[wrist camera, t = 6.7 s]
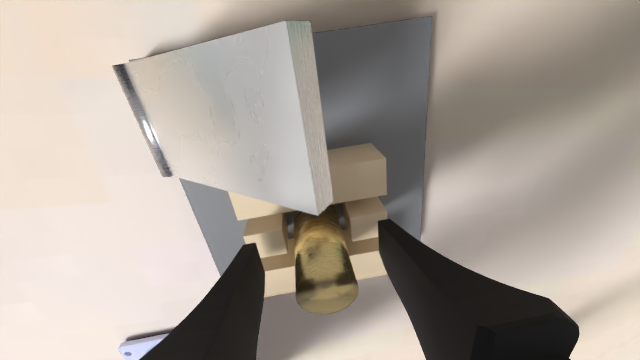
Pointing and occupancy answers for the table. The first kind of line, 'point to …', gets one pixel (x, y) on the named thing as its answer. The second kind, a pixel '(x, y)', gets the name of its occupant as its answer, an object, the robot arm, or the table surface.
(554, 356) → the robot arm
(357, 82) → the board
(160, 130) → the grey flat plate
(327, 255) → the pin
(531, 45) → the table surface
